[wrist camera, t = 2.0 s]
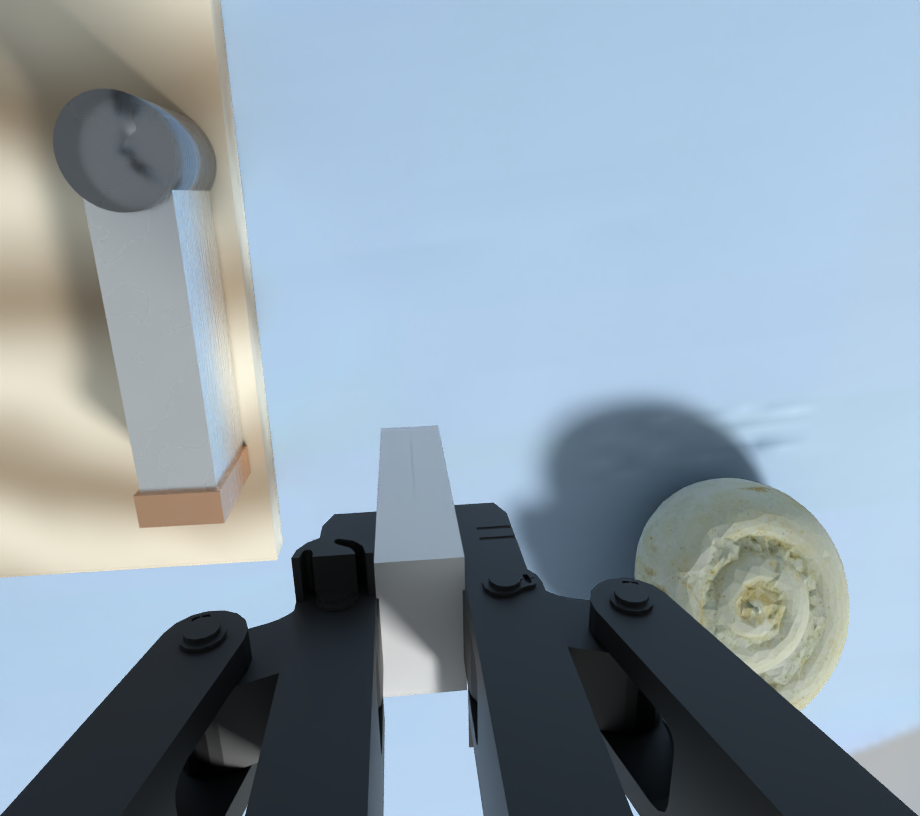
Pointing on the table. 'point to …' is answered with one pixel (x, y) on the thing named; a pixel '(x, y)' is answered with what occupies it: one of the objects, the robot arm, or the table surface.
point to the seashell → (753, 578)
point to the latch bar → (160, 298)
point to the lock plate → (80, 299)
